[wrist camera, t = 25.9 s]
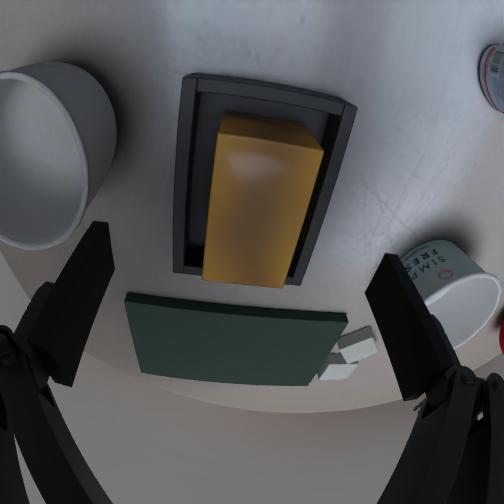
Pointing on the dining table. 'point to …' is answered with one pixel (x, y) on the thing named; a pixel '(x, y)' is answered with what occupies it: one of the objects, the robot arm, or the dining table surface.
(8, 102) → the teacup
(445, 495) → the robot arm
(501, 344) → the tomato
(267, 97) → the tray
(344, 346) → the white square block
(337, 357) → the grey square block
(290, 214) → the yellow rectangular block
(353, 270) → the dining table surface
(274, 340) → the chalkboard
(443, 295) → the food container
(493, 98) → the pill bottle
